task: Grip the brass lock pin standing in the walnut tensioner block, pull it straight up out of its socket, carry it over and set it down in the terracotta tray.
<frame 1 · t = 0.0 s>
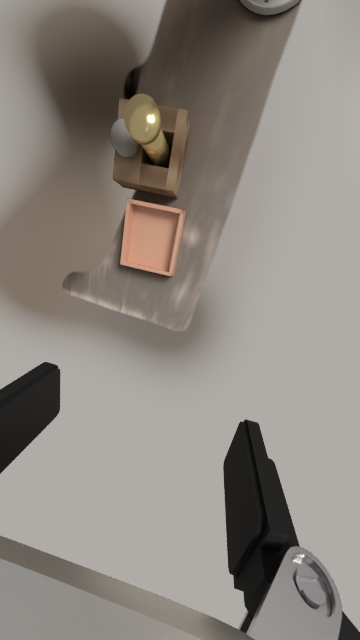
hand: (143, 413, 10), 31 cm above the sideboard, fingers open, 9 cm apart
tray: (154, 240, 37), on the sideboard
tensioner block: (154, 159, 33), on the sideboard
lock pin: (163, 160, 33), resting in tensioner block
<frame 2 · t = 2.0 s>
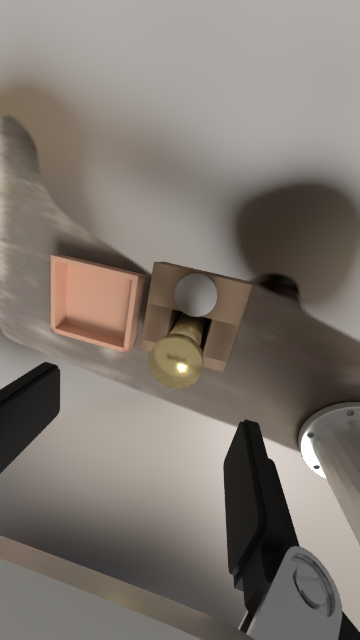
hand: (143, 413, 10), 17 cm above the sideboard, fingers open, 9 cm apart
tray: (101, 302, 27), on the sideboard
tensioner block: (194, 311, 25), on the sideboard
lock pin: (191, 322, 25), resting in tensioner block
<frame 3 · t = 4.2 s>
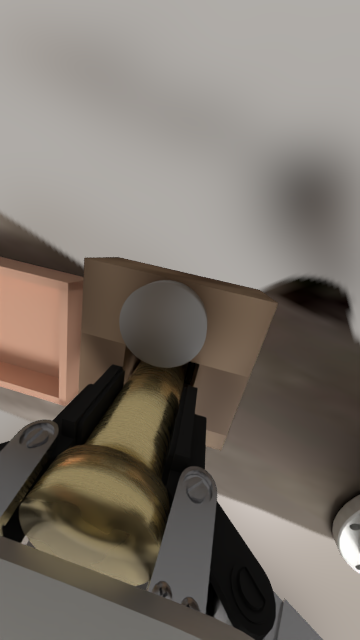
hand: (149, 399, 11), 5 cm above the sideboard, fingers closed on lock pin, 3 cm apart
tray: (28, 322, 17), on the sideboard
tensioner block: (173, 337, 15), on the sideboard
lock pin: (169, 354, 16), resting in tensioner block, touching gripper
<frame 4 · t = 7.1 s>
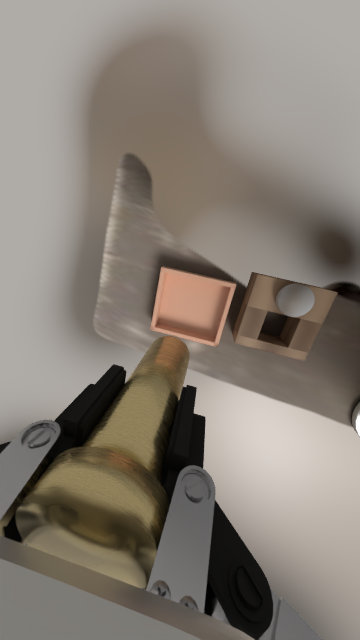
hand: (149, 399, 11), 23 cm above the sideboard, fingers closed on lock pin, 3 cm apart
tray: (192, 304, 32), on the sideboard
tensioner block: (273, 311, 31), on the sideboard
lock pin: (169, 354, 16), point 18 cm above the sideboard, touching gripper
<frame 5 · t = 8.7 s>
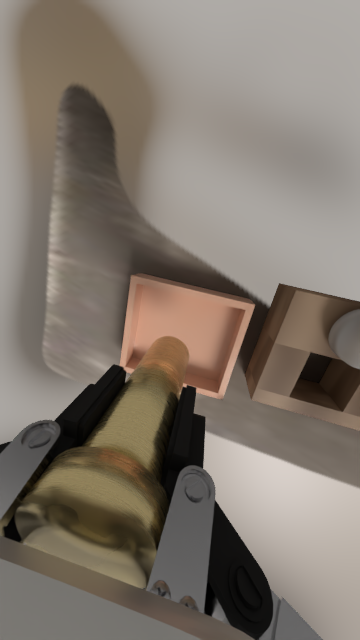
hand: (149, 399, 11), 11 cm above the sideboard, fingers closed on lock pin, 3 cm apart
tray: (183, 331, 21), on the sideboard
tensioner block: (312, 345, 19), on the sideboard
lock pin: (169, 354, 16), point 6 cm above the sideboard, touching gripper
when the fingers open (7 cm above the sideboard, at t = 10.0 s): lock pin drops 1 cm, resting on tray.
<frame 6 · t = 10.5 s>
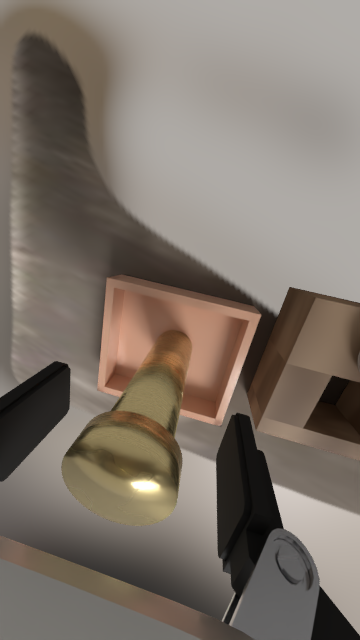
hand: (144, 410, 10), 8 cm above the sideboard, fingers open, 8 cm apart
tray: (174, 344, 18), on the sideboard
tensioner block: (328, 361, 16), on the sideboard
lock pin: (174, 347, 17), point 1 cm above the sideboard, touching tray
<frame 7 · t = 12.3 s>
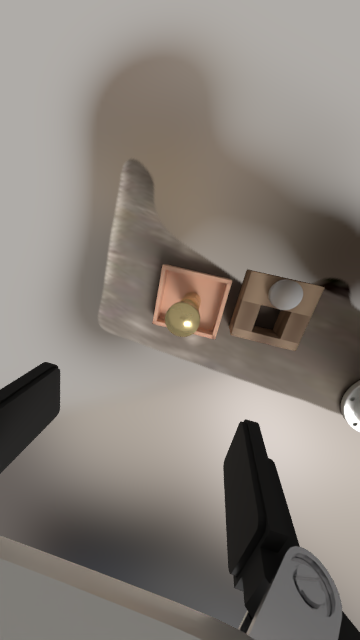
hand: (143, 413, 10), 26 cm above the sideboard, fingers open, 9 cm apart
tray: (191, 300, 34), on the sideboard
tensioner block: (267, 306, 33), on the sideboard
lock pin: (191, 301, 34), point 1 cm above the sideboard, touching tray
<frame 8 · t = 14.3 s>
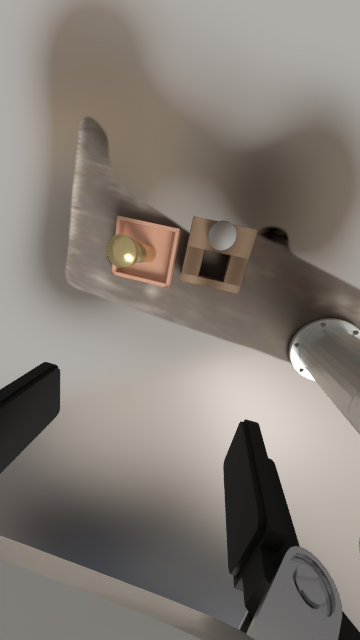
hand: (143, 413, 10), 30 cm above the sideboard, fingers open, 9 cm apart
tray: (148, 253, 37), on the sideboard
tensioner block: (216, 256, 36), on the sideboard
lock pin: (147, 253, 37), point 1 cm above the sideboard, touching tray
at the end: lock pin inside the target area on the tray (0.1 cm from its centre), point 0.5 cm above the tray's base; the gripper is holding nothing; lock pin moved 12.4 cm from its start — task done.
